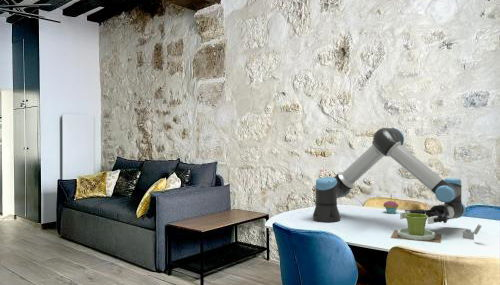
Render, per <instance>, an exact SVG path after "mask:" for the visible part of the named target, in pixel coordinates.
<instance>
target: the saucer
mask: <svg viewBox="0 0 500 285" xmlns="http://www.w3.org/2000/svg"><path fill="white" fill-rule="evenodd" d="M397 230H398V232H397V235H398V236H400V237H402V238H405V239H410V240H409V241H414V240H420V241H419V242H424V241H425V240H432V239H434V238H435V234H436V232H435V231H432V230H429V229H426V228H425V231H424V235H423V236H418V235H410V234H409V229H408V228H399V229H397ZM405 239H404V240H405Z"/></svg>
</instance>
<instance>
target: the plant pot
mask: <svg viewBox="0 0 500 285" xmlns="http://www.w3.org/2000/svg"><path fill="white" fill-rule="evenodd" d="M405 216H406V218H405V219H406V222H407V227H408V229H409V234H410V235H418V236H423V235H424V231H425V229H426V223H427V221H428V216H427V215H426V214H425V215H424V214H416V213H410V214H405Z"/></svg>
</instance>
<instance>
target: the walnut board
mask: <svg viewBox="0 0 500 285" xmlns="http://www.w3.org/2000/svg"><path fill="white" fill-rule="evenodd" d="M398 230H399V229H395V230H393V232H392V233H391V235H390V239H397V240H406V241H411V240H410V239H405V238H402V237H400V236H398V235H397V232H398ZM413 241H414V242H415V241H416V242H421V241H420V240H413ZM423 242H425V243H427V242H428V243H436V244H442V234H440V233H435V238H434V239H432V240H425V241H423Z"/></svg>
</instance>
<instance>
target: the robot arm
mask: <svg viewBox="0 0 500 285" xmlns="http://www.w3.org/2000/svg"><path fill="white" fill-rule="evenodd" d="M372 138H373V139H372V141H371V145H370V146H369V147H368V148H367V149H366V150H365V151H364V152H363V153H362V154H361V155H359V157H358V158H357V159H356V160H354V162H353V163H351V164H350V165H349V166H348V167H347V168H346V169H345V170H344V171H339V172H338V173H337V174H335V175H334V177H333V176H324V177H319V178H317V179H316V180H315V185H314V186H315V207H314V210H313V214H312V220H313V221H314V222H321V223H336V222H340V221H341V215H340V211H339V209H338V199H340V198H341V199H342V198H344V197H346V196H348V194H350V192H351V190H352V189H353V188H354V187H355V183H356V182H357V181H358V180H359V179H360V178H361V177H362V176H363V175H365V174H366V173H367V172H368V171H369V170H370V169H372V167H374V166H375V165H376V164H377V163H378V162H379V161H380V160H382V159H383V158H384V157H390V158H391V159H393V160H394V162H396V163H398V164H399V165H400V166H401V167H402V168H403V169H405V170H406V171H407V172H408V173H410V174H411V175H412V176H413V177H414V178H415V179H416V180H418V181H419V182H420V183H421V184H422V185H423V186H425V187H426V188H427V189H428V190H430V191H431V193H433V195H435V198H436V199H437V200H438V201H439V202H442V204H437V205H433V206H432V207H431V208H430V209H423V208H422V209H405V210H404V211H403V212H400V213H399V218H400V220H403V219H406V216H405V214H410V213H416V214H424V215H427V216H428V218H427V225H431V224H437V223H442V222H443V223H444V224H446V223H448V220H453V219H459V218H461V217H463V216H464V215H465V214H466V211H467V209H466V206H465V205H464V203H463V201H462V187H463V186H462V180H461V179H460V178H453V177H452V178H451V177H450V178H449V177H447V178H444V179H443V178H442V177H441V176H439V175H438V174H437V173H436V172H435V171H434V170H432V169H431V168H430V167H428V165H426V164H425V163H424V162H422V161H421V160H420V159H419V158H417V156H415V155H414V154H413V153H412V152H410V151H409V150H408V149H406V148H405V147H404V146H403V145H404V142H405V136H404V134H403V132H402V131H401V130H400V129H398V128H395V127H382V128H379V129H378V130H376V131H375V133H374V135H373V137H372Z"/></svg>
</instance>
